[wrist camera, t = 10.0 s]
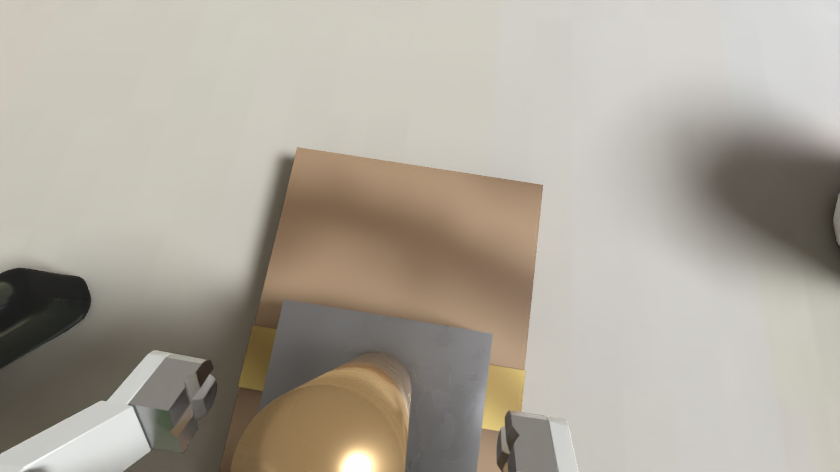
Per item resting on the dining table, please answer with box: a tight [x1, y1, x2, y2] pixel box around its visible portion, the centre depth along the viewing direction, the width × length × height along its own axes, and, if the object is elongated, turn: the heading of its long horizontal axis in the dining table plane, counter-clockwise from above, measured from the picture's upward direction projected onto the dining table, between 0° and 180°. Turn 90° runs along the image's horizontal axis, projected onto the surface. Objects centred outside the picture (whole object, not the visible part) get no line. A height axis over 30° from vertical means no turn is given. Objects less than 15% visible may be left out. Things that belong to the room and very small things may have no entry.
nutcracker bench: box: [219, 147, 543, 472], centre depth 19 cm, size 24×14×7 cm, turn 171°
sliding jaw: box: [230, 299, 493, 472], centre depth 14 cm, size 6×9×14 cm, turn 81°
